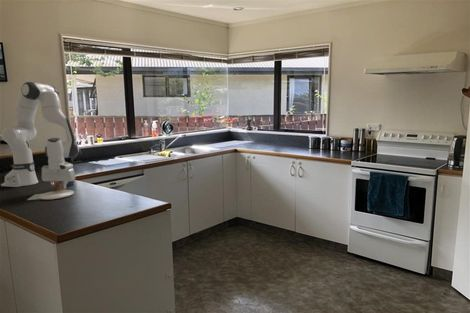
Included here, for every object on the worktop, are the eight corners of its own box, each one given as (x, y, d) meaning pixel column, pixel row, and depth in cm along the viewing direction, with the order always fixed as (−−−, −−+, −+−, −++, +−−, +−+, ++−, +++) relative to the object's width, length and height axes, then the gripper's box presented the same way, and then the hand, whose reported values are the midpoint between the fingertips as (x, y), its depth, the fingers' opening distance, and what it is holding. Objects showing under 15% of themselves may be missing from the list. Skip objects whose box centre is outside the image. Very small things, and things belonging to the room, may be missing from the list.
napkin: (27, 200, 198) (26, 199, 198) (35, 194, 210) (35, 194, 210) (42, 198, 200) (42, 198, 200) (49, 193, 211) (49, 193, 211)
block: (53, 192, 215) (52, 183, 214) (58, 190, 220) (57, 182, 219) (60, 192, 214) (60, 183, 213) (66, 190, 219) (65, 182, 218)
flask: (72, 184, 234) (70, 168, 232) (74, 185, 232) (72, 168, 230) (58, 187, 226) (56, 170, 225) (60, 188, 225) (58, 171, 223)
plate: (31, 200, 198) (31, 198, 198) (53, 191, 215) (53, 189, 215) (60, 200, 195) (60, 198, 194) (80, 192, 212) (80, 190, 212)
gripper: (37, 166, 213) (40, 189, 215) (68, 166, 210) (71, 189, 212) (45, 164, 219) (47, 186, 222) (75, 164, 216) (77, 187, 218)
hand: (59, 188), depth 217 cm, fingers closed on block, 5 cm apart
